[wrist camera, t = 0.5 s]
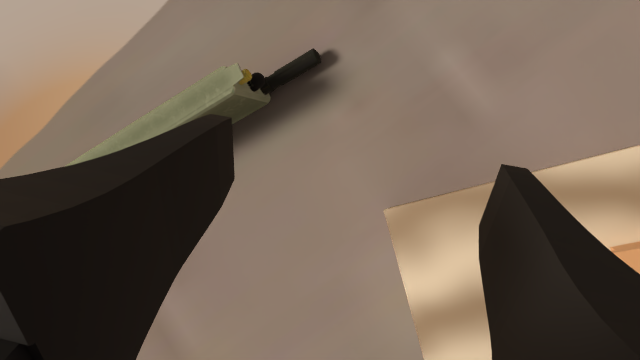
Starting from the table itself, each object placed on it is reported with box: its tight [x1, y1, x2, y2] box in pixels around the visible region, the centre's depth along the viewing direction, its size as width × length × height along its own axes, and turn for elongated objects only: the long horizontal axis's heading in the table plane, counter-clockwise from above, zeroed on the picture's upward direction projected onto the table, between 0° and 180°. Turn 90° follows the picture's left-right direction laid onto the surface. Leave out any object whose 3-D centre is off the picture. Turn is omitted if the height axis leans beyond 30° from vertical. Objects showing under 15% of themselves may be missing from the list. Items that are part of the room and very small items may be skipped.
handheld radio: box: [66, 48, 321, 166], centre depth 38 cm, size 7×3×25 cm
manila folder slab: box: [610, 241, 640, 274], centre depth 27 cm, size 4×6×2 cm
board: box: [384, 145, 640, 360], centre depth 30 cm, size 18×17×4 cm
